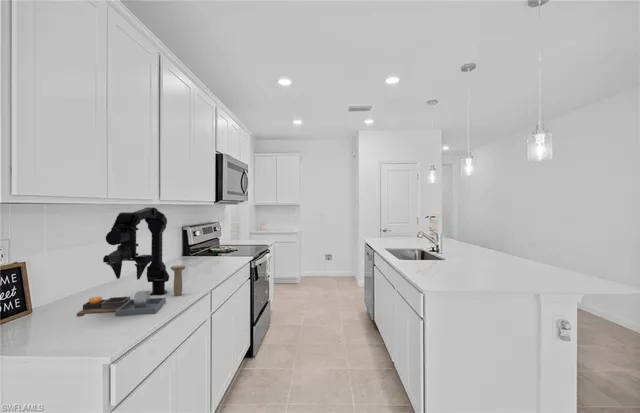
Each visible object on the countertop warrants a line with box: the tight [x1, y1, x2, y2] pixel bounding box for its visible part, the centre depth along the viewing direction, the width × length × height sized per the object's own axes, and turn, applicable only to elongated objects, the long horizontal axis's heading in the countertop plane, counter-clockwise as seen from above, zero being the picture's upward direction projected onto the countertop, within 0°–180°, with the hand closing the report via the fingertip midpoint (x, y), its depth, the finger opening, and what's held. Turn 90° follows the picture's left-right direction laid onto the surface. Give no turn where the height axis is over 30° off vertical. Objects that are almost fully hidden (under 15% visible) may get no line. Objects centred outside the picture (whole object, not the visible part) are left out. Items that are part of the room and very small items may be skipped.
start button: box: [88, 296, 103, 304], centre depth 130 cm, size 4×4×2 cm
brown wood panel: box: [76, 296, 131, 317], centre depth 131 cm, size 15×16×4 cm
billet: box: [134, 290, 151, 309], centre depth 129 cm, size 4×4×7 cm
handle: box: [170, 264, 186, 297], centre depth 149 cm, size 5×6×15 cm
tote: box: [114, 297, 167, 317], centre depth 129 cm, size 15×15×3 cm
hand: (128, 279), depth 128 cm, fingers open, 9 cm apart
